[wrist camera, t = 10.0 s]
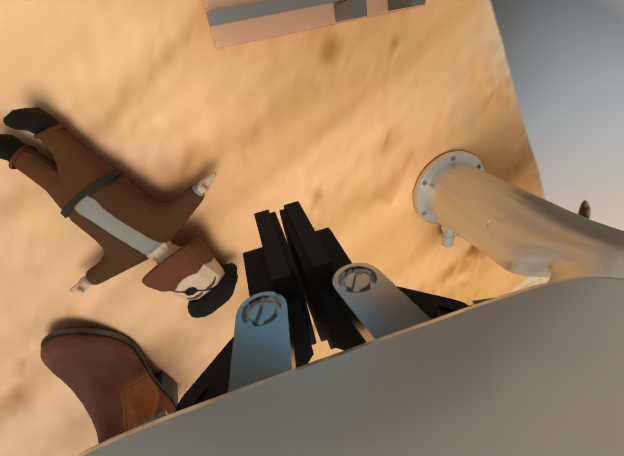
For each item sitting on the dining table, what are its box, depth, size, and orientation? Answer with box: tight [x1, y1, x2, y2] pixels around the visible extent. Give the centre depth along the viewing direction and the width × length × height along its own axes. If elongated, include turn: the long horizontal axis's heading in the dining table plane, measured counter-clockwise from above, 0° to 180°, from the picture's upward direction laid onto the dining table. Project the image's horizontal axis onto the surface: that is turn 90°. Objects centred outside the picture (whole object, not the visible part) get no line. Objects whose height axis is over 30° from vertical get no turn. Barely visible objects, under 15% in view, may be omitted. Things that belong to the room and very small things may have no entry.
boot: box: [41, 328, 178, 444], centre depth 42 cm, size 25×9×27 cm, turn 19°
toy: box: [0, 108, 238, 318], centre depth 40 cm, size 24×10×30 cm
